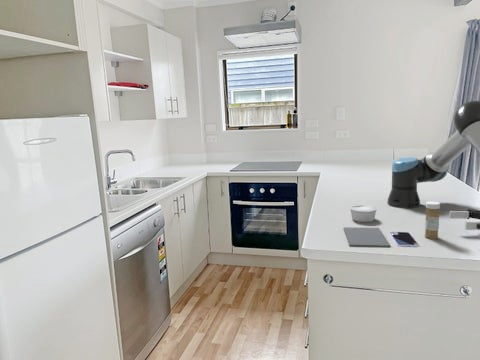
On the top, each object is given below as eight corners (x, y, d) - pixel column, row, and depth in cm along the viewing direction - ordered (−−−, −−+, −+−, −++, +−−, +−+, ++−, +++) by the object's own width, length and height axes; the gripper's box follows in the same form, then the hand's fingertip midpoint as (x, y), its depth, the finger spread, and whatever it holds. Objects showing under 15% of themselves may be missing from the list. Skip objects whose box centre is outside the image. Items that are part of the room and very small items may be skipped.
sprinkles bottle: (426, 234, 137) (428, 200, 134) (439, 236, 134) (441, 202, 131) (422, 237, 133) (424, 203, 131) (436, 240, 130) (438, 204, 128)
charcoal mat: (343, 228, 148) (343, 227, 148) (378, 229, 145) (378, 227, 145) (349, 246, 128) (349, 244, 128) (390, 247, 126) (390, 245, 126)
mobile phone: (397, 244, 126) (388, 231, 141) (397, 247, 126) (388, 233, 141) (420, 245, 125) (408, 231, 139) (420, 247, 125) (408, 233, 139)
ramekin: (362, 214, 167) (362, 203, 166) (381, 220, 157) (382, 208, 156) (344, 218, 162) (344, 207, 161) (363, 224, 152) (363, 212, 151)
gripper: (544, 242, 115) (472, 241, 119) (502, 220, 140) (443, 219, 143) (546, 220, 114) (474, 220, 118) (503, 201, 138) (444, 201, 142)
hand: (457, 219), depth 130 cm, fingers open, 13 cm apart
